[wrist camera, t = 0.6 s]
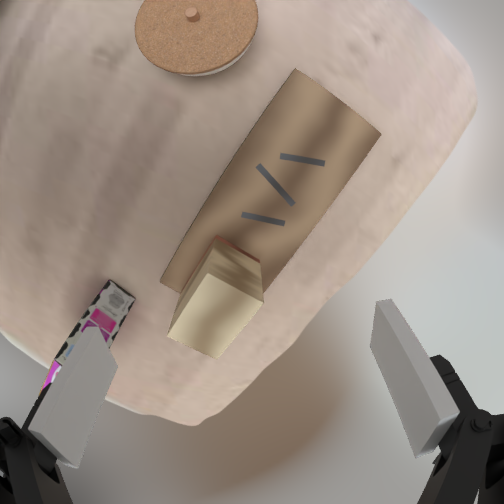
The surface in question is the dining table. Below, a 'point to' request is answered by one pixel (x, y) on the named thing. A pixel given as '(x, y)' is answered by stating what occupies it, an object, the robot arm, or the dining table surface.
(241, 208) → the board
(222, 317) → the block
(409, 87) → the dining table surface
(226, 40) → the lidded jar
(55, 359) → the candy bar box
